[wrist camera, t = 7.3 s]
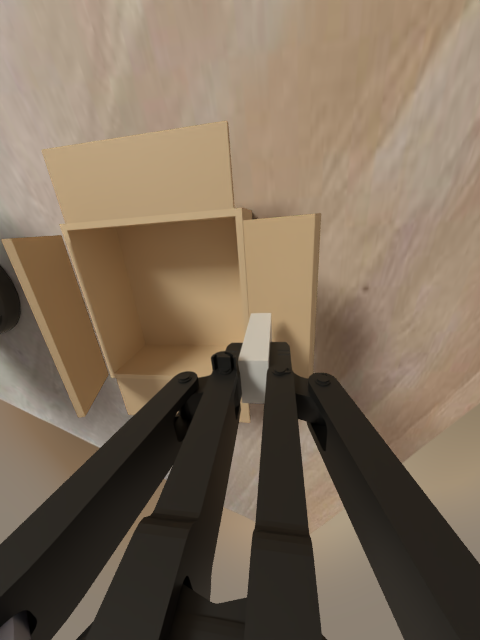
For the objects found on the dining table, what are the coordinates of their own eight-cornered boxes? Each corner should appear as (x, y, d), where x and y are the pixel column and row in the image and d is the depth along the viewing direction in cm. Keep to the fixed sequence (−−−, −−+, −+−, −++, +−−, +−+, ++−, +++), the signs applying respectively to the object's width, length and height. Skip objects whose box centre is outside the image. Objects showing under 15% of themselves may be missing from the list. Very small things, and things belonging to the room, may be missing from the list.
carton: (152, 378, 39) (123, 414, 32) (98, 168, 28) (34, 150, 21) (260, 382, 36) (255, 423, 29) (248, 148, 25) (235, 118, 18)
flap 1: (103, 375, 29) (78, 417, 22) (54, 235, 23) (0, 239, 16) (108, 374, 29) (85, 416, 22) (61, 235, 23) (10, 238, 16)
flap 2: (253, 380, 26) (306, 416, 20) (242, 220, 20) (315, 213, 14) (257, 378, 26) (310, 413, 21) (248, 219, 20) (321, 213, 15)
